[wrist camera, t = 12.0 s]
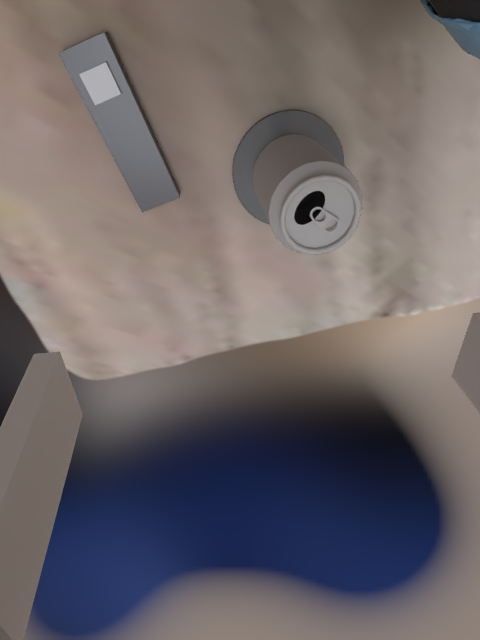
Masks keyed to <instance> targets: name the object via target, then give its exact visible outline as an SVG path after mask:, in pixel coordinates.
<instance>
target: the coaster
mask: <svg viewBox="0 0 480 640" xmlns="http://www.w3.org/2000/svg"><path fill="white" fill-rule="evenodd" d="M291 134H298V135H305V136H307V137H309V138H311V139H313V140H315V141H316V142H318V143H319V144H320V145H321V146H322V147H323V148H324V149H326V150H327V151H328V152H329V153H330V154H331V155H332V156H334V157H335V158H336V159H337V160H338V161H339V162H340V163H342V164H343V165H344V157H343V151H342V147H341V144H340V141H339V139H338V137H337V135H336V134H335V132H334V131H333V130H332V128H331V127H330V126H329V125H328V124H327V123H326V122H324V121H323V120H322V119H320V118H319V117H317V116H315V115H313V114H311V113H308V112H305V111H299V110H287V111H280V112H277V113H274V114H271V115H269V116H267V117H265V118H263V119H262V120H260V121H259V122H258V123H256V124H255V125H254V126H253V127H252V128H251V129H250V130H249V131H248V132H247V133H246V135H245V136H244V137H243V139H242V141H241V142H240V144H239V146H238V149H237V151H236V154H235V158H234V162H233V183H234V187H235V190H236V193H237V196H238V198H239V200H240V202H241V203H242V205H243V206H244V208H245V209H246V210H247V211H248V212H249V213H250V214H251V215H252V216H254V217H255V218H257V219H258V220H260V221H262V222H265V223H267V224H269V222H268V220H267V218H266V215H265V213H264V211H263V208H262V206H261V204H260V201H259V199H258V197H257V194H256V192H255V190H254V184H253V171H254V165H255V163H256V161H257V159H258V157H259V155H260V153H261V151H262V150H263V149H264V148H265V147H266V146H267V145H268V144H269V143H270V142H272V141H274V140H276V139H277V138H279V137H281V136H286V135H291Z"/></svg>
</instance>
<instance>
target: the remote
mask: <svg viewBox="0 0 480 640" xmlns="http://www.w3.org/2000/svg"><path fill="white" fill-rule="evenodd" d="M58 54H59V55H60V57H61V59H62V61H63V63H64V65H65V67H66V69H67V71H68V73H69V74H70V76H71V78H72V80H73V82H74V84H75V86H76V88H77V90H78V91H79V93H80V95H81V97H82V99H83V101H84V103H85V105H86V107H87V109H88V110H89V112H90V114H91V116H92V118H93V120H94V122H95V124H96V126H97V128H98V129H99V131H100V133H101V135H102V137H103V139H104V141H105V143H106V145H107V147H108V148H109V150H110V152H111V154H112V156H113V158H114V160H115V162H116V164H117V166H118V167H119V169H120V171H121V173H122V175H123V177H124V179H125V181H126V183H127V185H128V186H129V188H130V190H131V192H132V194H133V196H134V198H135V200H136V202H137V204H138V205H139V207H140V209H141V211H142V212H144V211H147V210H149V209H152V208H154V207H157V206H159V205H162V204H164V203H167V202H169V201H172V200H174V199H177V198H179V197H180V191H179V189H178V187H177V184H176V182H175V180H174V178H173V176H172V173H171V171H170V169H169V167H168V165H167V162H166V160H165V158H164V156H163V154H162V151H161V149H160V147H159V145H158V143H157V140H156V138H155V136H154V134H153V132H152V129H151V127H150V125H149V123H148V121H147V118H146V116H145V114H144V112H143V110H142V108H141V105H140V103H139V101H138V99H137V97H136V94H135V92H134V90H133V88H132V86H131V83H130V81H129V79H128V77H127V75H126V72H125V70H124V68H123V66H122V64H121V61H120V59H119V57H118V55H117V53H116V50H115V48H114V46H113V44H112V42H111V39H110V37H109V35H108V33H107V32H103V33H101V34H99V35H97V36H95V37H92V38H90V39H88V40H86V41H84V42H82V43H79V44H77V45H75V46H73V47H71V48H69V49H66V50H64V51H62V52H60V53H58Z"/></svg>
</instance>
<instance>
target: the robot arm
mask: <svg viewBox="0 0 480 640" xmlns="http://www.w3.org/2000/svg"><path fill="white" fill-rule="evenodd" d="M421 3H422V4H423V6H424V8H425V9H426V11H427V12H428V14H429V15H430V16H432V17H433V18H435V19H436V20H437V21H439V22H440V23H441V24H443V25H444V27H445V28H446V29H447V31H448V32H449V33H450V34H451V36H452V37H453V38H454V40H455V41H456V42H457V43H458V45H459V46H460V47H461V48H462V49H463V50H464V51H466V52H467V53H468V54H472V55H473V56H475V57H477V58H479V59H480V0H421ZM452 377H453V379H454V380H455V381H456V383H457V384H458V385H459V387H460V388H461V389H462V390H463V392H464V393H465V395H466V396H467V397H468V398H469V400H470V401H471V402H472V404H473V405H474V406H475V408H476V409H477V410H478V412H479V413H480V313H473V315H472V318H471V321H470V324H469V326H468V329H467V332H466V335H465V338H464V341H463V344H462V347H461V350H460V353H459V356H458V359H457V362H456V364H455V368H454V370H453V373H452ZM81 418H82V411H81V409H80V406H79V403H78V401H77V397H76V395H75V392H74V390H73V386H72V384H71V381H70V378H69V375H68V373H67V370H66V367H65V365H64V362H63V359H62V356H61V354H60V352H51V353H41V354H34V355H33V357H32V360H31V362H30V364H29V366H28V368H27V370H26V373H25V375H24V377H23V379H22V381H21V384H20V386H19V388H18V390H17V392H16V394H15V397H14V399H13V401H12V403H11V405H10V407H9V409H8V412H7V414H6V416H5V418H4V420H3V423H2V425H1V427H0V640H23V638H24V634H25V631H26V627H27V623H28V619H29V616H30V612H31V608H32V604H33V600H34V597H35V593H36V589H37V585H38V581H39V578H40V574H41V570H42V566H43V562H44V558H45V555H46V551H47V547H48V543H49V540H50V536H51V532H52V528H53V524H54V520H55V517H56V513H57V509H58V505H59V501H60V498H61V494H62V490H63V487H64V483H65V479H66V475H67V471H68V467H69V464H70V460H71V456H72V452H73V448H74V445H75V441H76V437H77V433H78V429H79V426H80V422H81Z"/></svg>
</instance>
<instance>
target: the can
mask: <svg viewBox="0 0 480 640" xmlns="http://www.w3.org/2000/svg"><path fill="white" fill-rule="evenodd" d="M253 184H254V190H255V192H256V194H257V197H258V199H259V201H260V204H261V206H262V208H263V211H264V213H265V215H266V218H267V220H268V222H269V225H270V227H271V229H272V231H273V233H274V235H275V237H276V239H278V240H279V241H280V242H281V243H282V244H283V245H284V246H285V247H286V248H289V249H291V250H293V251H295V252H298V253H305V254H315V255H317V254H322V253H328V252H330V251H332V250H334V249H336V248H338V247H340V246H341V245H342V244H343V243H345V242H346V241H347V240H348V239H349V238H350V237H351V235H352V234H353V232H354V231H355V229H356V228H357V225H358V222H359V219H360V216H361V210H362V191H361V189H360V186H359V183H358V180H357V179H356V178H355V177H354V175H353V174H352V173H351V172H350V171H349V169H347V168H346V167H345V166H344V165H343V164H342V163H340V162H339V161H338V160H337V159H336V158H335V157H334V156H332V155H331V154H330V153H329V152H328V151H327V150H326V149H324V148H323V147H322V146H321V145H320V144H319V143H318V142H316V141H315V140H313V139H311V138H309V137H307V136H305V135H298V134H291V135H286V136H281V137H279V138H277V139H276V140H274V141H272V142H270V143H269V144H268V145H267V146H266V147H265V148H264V149H263V150H262V151H261V153H260V155H259V157H258V159H257V161H256V163H255V165H254V171H253Z"/></svg>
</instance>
